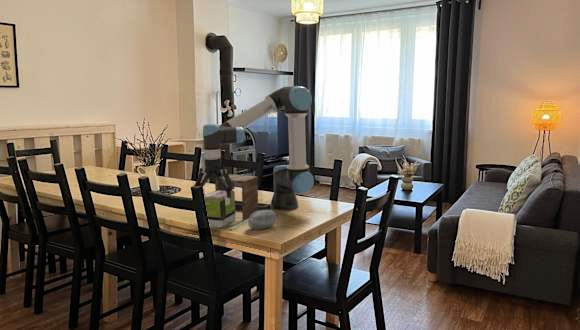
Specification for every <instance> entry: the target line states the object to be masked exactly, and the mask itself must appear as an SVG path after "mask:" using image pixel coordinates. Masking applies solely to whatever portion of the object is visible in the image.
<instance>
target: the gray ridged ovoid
mask: <svg viewBox="0 0 580 330" xmlns="http://www.w3.org/2000/svg"><path fill="white" fill-rule="evenodd" d="M276 215H277V214H276V213H275V211H273V209H272V210H260V211H256V212H254V213H252V214H251V215H250V217H249V218H248V220H249V221H248V222H247V223H248V227H249V228H250V229H251V230H253V231H258V230H260V231H261V230H264V229H267V228H270V227H272V226H274V225H275V223H276V221H277V216H276Z"/></svg>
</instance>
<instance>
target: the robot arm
mask: <svg viewBox="0 0 580 330" xmlns="http://www.w3.org/2000/svg"><path fill="white" fill-rule="evenodd" d="M312 102H313V96H312V94H311V92H310V90H308V89H307V88H306V87H305V86H299V85H295V86H283V87H280V88H279V89H277V90H275V91H273V92H272V93H270V94H268V95H266V96H265V98H264V99H263V100H262V101H260V102H258V103H257V104H254V105H253V106H251V107H249V108H248V109H245V110H244V111H242V112H241V113H239V114H237V115H236V116H233V117H232V118H229V120H226V121H225V122H223V123H221V124H218V123H211V124H210V123H208V124H204V125H203V127H202V138H203V139H202V140H203V158H204V167H200V168H199V172H198V175H197V178H196V181H195V183H194V186H193V187H195V186H202V188H203V192H204V195H206V194H205V188H204V186H206V184H207V182H208V181H209V179H214V180H215V179H216V178H217V180H219V181H220V183H221V184H222V185H223V187H224V188H225V190H226V191H225V205H229V204H230V197H231V190H232V191H234V190H235V186H234V183H232V181H231V179H230V177H229V171H228V168H224V169H222V158H221V157H222V153H221V152H222V151H221V148H222V147H221V145H231V144H233V145H234V144H239V143H244V141H245V139H246V133H245V129H247V128H248V127H249V126H251V125H253V124H255V123H256V122H259V121H260V120H262V119H263V118H265V117H267V116H268V115H270V114H276V113H277V112H279V111H282V110H283V111H284V115H285V116H286V117H287V123H288V124H287V125H288V127H287V128H288V129H287V130H288V155H289V158H288V162H289V164H283V165H276V166H274V167H273V194H272V197H271V201H270V204H271V209H272V210H278V211H290V210H291V211H292V210H296V209H298V208H299V200H298V198H297V195H296V194H299V195H301V194H303V195H304V194H306V193H309V192H310V190H311V189H312V188H313V186H314V182H315V180H314V179H315V178H314V176H313V174H312V173H311V172H310V166H309V164H307V149H306V148H307V146H306V145H307V143H306V139H307V137H306V136H307V135H306V116H307V115H308V113H309V108H311V105H312ZM205 173H206V174H205ZM223 176H224V178H225V180H224V178H223Z"/></svg>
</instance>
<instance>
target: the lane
mask: <svg viewBox="0 0 580 330" xmlns="http://www.w3.org/2000/svg"><path fill="white" fill-rule="evenodd" d="M248 221H249V219H246V220H242V221H241V222H239V223H238V224H236V225H234V226H232V227H230V228H229V229H234V228H236V227H238V226H240V225H242V224H244V223H245V224H247V223H248ZM191 224H195V223H193V222H191V223H190V225H191ZM245 224H244V225H245ZM195 225H196V224H195ZM242 226H243V225H242ZM240 227H241V226H240ZM238 228H239V227H238ZM236 229H237V228H236ZM234 230H235V229H234Z"/></svg>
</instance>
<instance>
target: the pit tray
mask: <svg viewBox="0 0 580 330" xmlns="http://www.w3.org/2000/svg"><path fill="white" fill-rule="evenodd" d="M271 209H272V208H271V203H263V202H262V203H261V202H258V211H260V210H271ZM235 211H242V200H236V199H235Z"/></svg>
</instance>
